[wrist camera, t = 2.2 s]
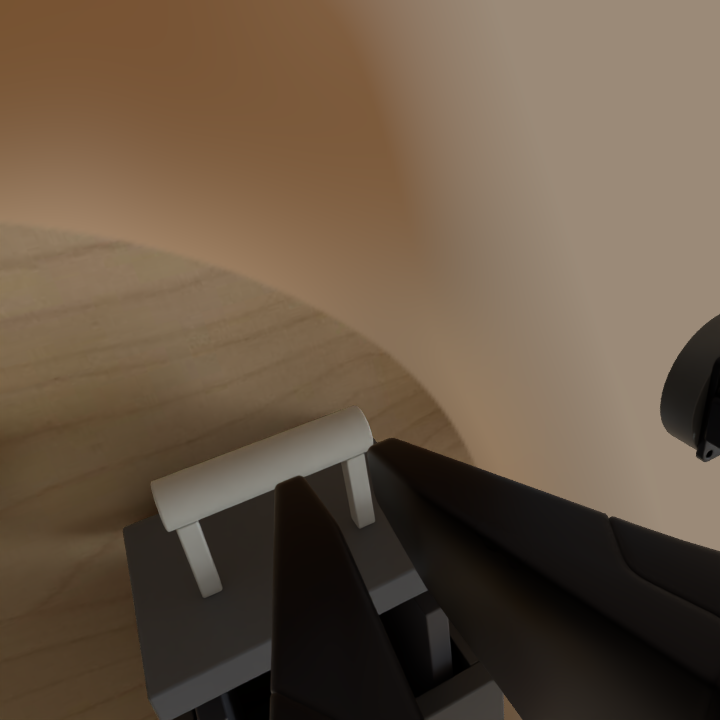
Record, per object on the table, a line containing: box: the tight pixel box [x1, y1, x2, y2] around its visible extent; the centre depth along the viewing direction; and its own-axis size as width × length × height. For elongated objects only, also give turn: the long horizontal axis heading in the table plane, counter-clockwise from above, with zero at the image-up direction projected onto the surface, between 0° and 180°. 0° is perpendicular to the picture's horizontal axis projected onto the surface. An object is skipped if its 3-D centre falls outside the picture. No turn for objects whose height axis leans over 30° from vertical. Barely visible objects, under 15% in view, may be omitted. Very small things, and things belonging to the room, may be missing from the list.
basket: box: [123, 405, 453, 720], centre depth 21 cm, size 16×9×7 cm, turn 8°
